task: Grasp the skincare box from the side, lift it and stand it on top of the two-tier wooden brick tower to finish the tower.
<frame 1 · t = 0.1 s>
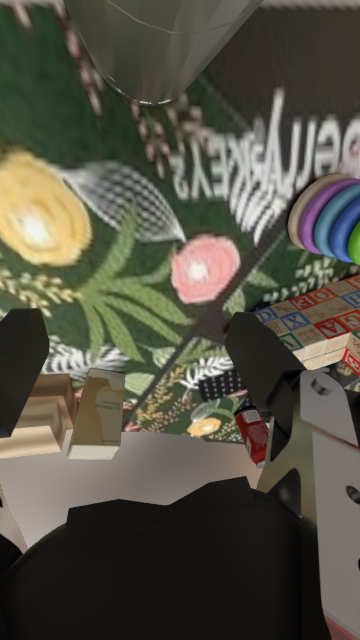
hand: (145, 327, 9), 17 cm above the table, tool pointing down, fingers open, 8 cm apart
skincare box: (104, 376, 37), on the table
soda can: (245, 411, 56), on the table
stacking toy: (315, 212, 25), on the table
brick tower: (40, 394, 37), on the table
stack of blocks: (311, 303, 35), on the table
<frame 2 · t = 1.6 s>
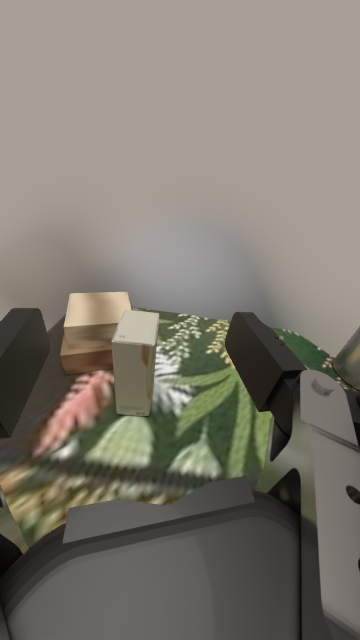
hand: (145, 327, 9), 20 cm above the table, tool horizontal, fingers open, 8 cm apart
skincare box: (136, 395, 30), on the table
brick tower: (104, 345, 36), on the table
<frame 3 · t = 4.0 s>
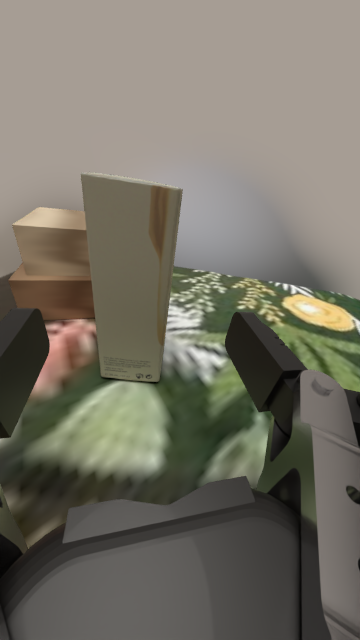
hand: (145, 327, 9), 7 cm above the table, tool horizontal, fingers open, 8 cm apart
skincare box: (137, 353, 18), on the table
brick tower: (90, 292, 25), on the table
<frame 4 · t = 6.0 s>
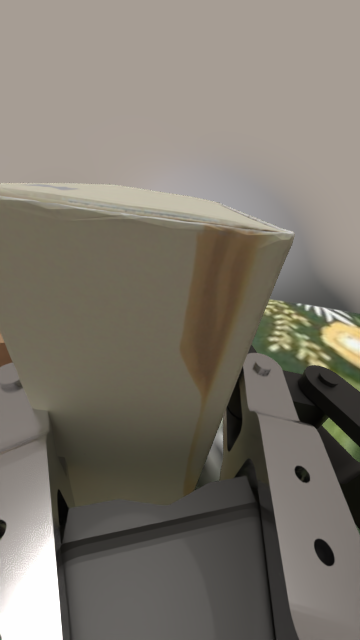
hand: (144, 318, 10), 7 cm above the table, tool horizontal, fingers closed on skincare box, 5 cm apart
skincare box: (141, 452, 12), on the table, touching gripper
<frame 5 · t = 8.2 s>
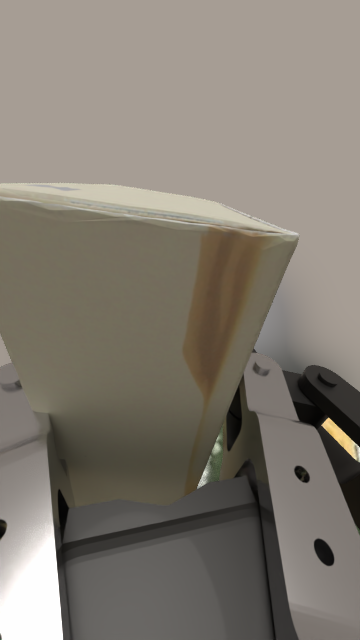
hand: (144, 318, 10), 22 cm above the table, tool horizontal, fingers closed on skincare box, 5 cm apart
skincare box: (141, 453, 12), point 14 cm above the table, touching gripper
when the fingers open (16 cm above the table, at t = 10.4 s): skincare box drops 1 cm, resting on brick tower.
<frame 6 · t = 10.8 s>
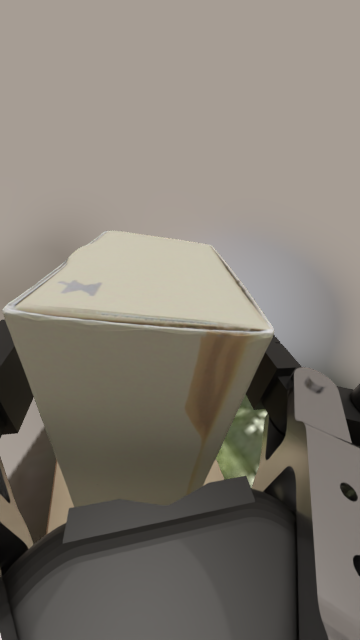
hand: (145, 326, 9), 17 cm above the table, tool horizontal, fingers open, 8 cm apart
skincare box: (140, 466, 12), point 8 cm above the table, touching brick tower
brick tower: (137, 506, 17), on the table
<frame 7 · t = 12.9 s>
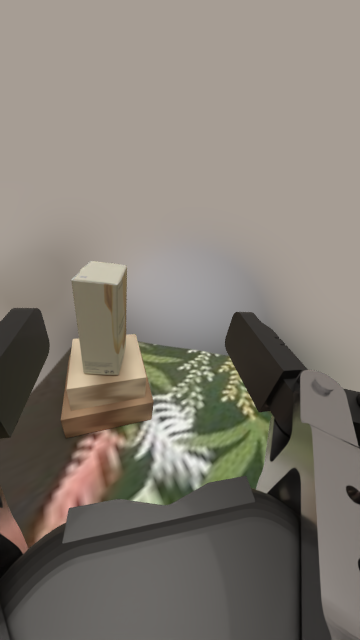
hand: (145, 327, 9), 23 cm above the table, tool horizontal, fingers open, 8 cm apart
skincare box: (107, 358, 28), point 8 cm above the table, touching brick tower
brick tower: (109, 394, 33), on the table
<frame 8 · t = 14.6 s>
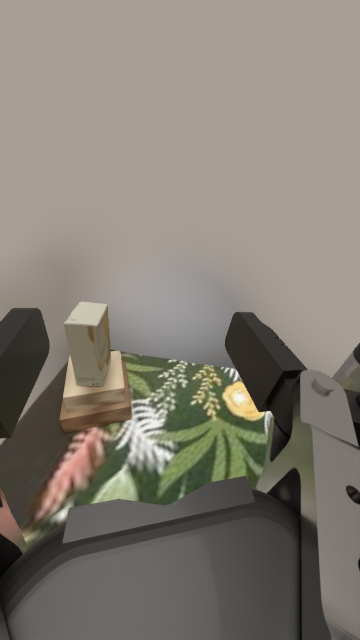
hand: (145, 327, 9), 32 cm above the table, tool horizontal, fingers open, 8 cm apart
skincare box: (95, 372, 36), point 8 cm above the table, touching brick tower
brick tower: (99, 399, 41), on the table
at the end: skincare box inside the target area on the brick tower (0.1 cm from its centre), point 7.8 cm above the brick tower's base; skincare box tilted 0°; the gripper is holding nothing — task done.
